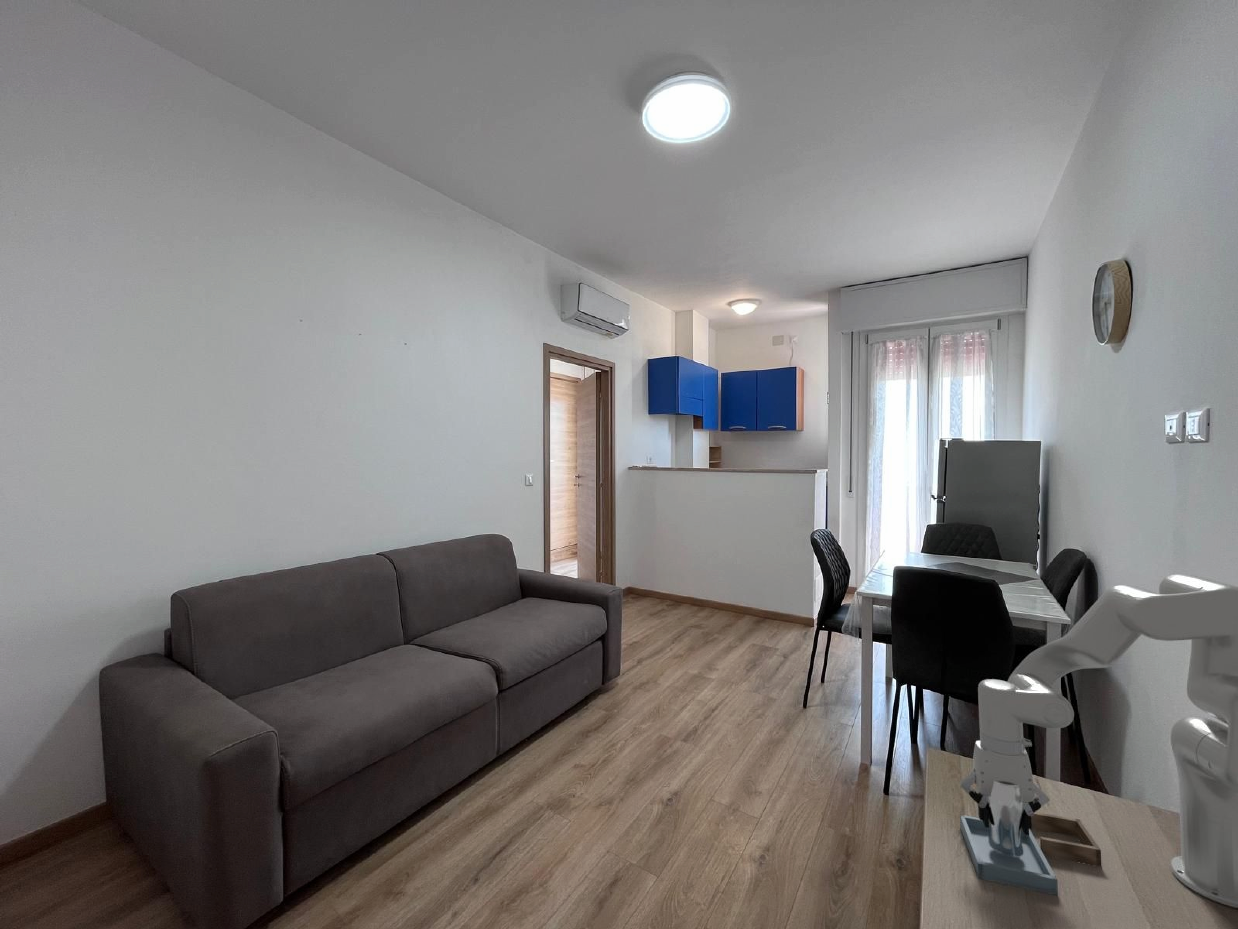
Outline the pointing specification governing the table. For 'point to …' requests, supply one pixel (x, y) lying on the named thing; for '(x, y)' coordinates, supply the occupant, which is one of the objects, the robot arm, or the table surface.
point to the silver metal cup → (1006, 819)
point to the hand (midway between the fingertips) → (1004, 826)
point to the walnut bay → (1063, 849)
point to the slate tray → (1008, 859)
